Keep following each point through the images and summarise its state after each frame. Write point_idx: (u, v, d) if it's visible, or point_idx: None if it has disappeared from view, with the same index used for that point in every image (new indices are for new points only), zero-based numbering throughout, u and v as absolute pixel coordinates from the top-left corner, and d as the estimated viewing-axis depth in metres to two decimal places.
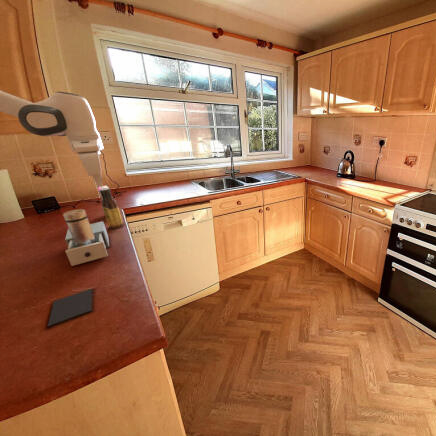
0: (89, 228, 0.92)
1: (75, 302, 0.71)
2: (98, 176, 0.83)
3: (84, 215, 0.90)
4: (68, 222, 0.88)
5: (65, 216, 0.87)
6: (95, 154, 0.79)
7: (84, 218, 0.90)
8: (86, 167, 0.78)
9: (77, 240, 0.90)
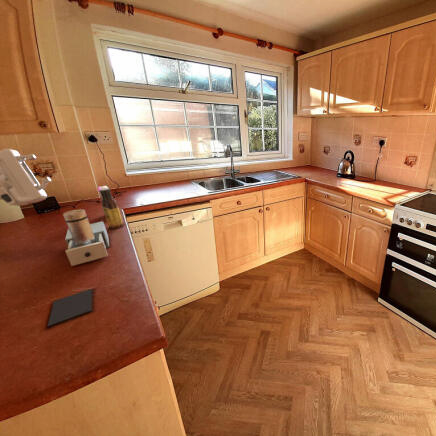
0: (89, 228, 0.92)
1: (75, 302, 0.71)
2: (41, 187, 0.90)
3: (84, 215, 0.90)
4: (68, 222, 0.88)
5: (65, 216, 0.87)
6: (22, 203, 0.89)
7: (84, 218, 0.90)
8: (41, 200, 0.92)
9: (77, 240, 0.90)
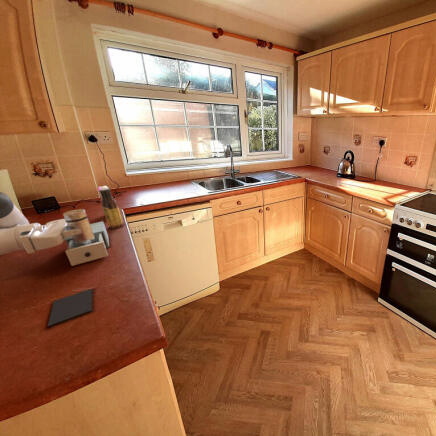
0: (89, 228, 0.92)
1: (75, 302, 0.71)
2: (65, 233, 0.86)
3: (84, 215, 0.90)
4: (68, 222, 0.88)
5: (65, 216, 0.87)
6: (32, 239, 0.79)
7: (84, 218, 0.90)
8: (50, 246, 0.81)
9: (77, 240, 0.90)
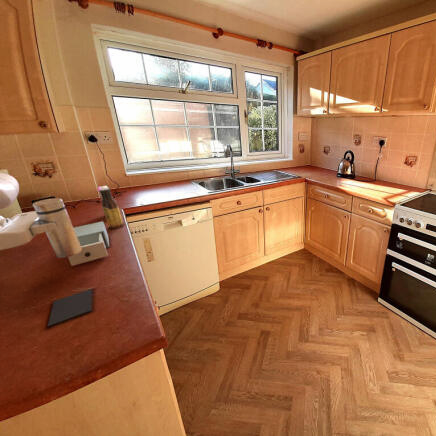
0: (68, 222, 0.73)
1: (75, 302, 0.71)
2: (35, 228, 0.66)
3: (61, 205, 0.71)
4: (39, 214, 0.68)
5: (35, 206, 0.67)
6: None
7: (61, 209, 0.71)
8: (13, 245, 0.62)
9: (52, 237, 0.71)
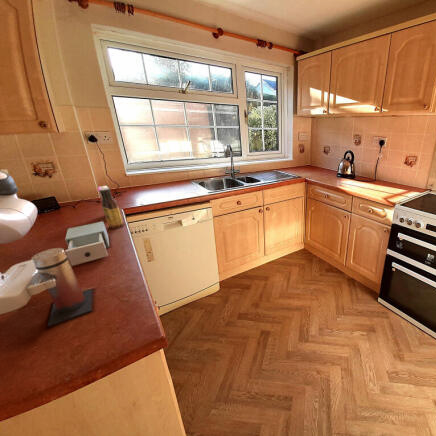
0: (70, 274, 0.66)
1: None
2: (32, 289, 0.59)
3: (63, 257, 0.64)
4: (39, 269, 0.62)
5: (35, 261, 0.61)
6: None
7: (62, 261, 0.64)
8: (8, 310, 0.55)
9: (53, 292, 0.64)
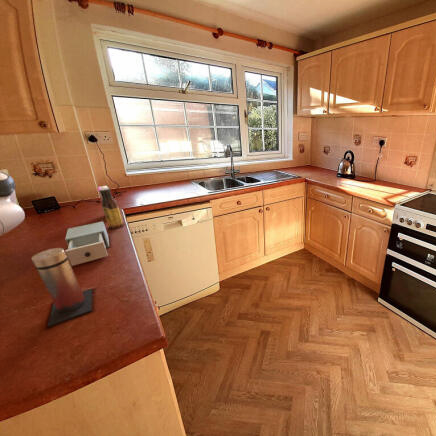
0: (70, 274, 0.66)
1: None
2: None
3: (63, 257, 0.64)
4: (39, 269, 0.62)
5: (35, 261, 0.61)
6: None
7: (62, 261, 0.64)
8: None
9: (53, 292, 0.64)
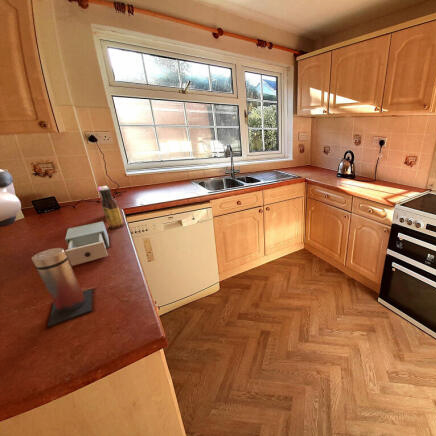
0: (70, 274, 0.66)
1: None
2: None
3: (63, 257, 0.64)
4: (39, 269, 0.62)
5: (35, 261, 0.61)
6: None
7: (62, 261, 0.64)
8: None
9: (53, 292, 0.64)
